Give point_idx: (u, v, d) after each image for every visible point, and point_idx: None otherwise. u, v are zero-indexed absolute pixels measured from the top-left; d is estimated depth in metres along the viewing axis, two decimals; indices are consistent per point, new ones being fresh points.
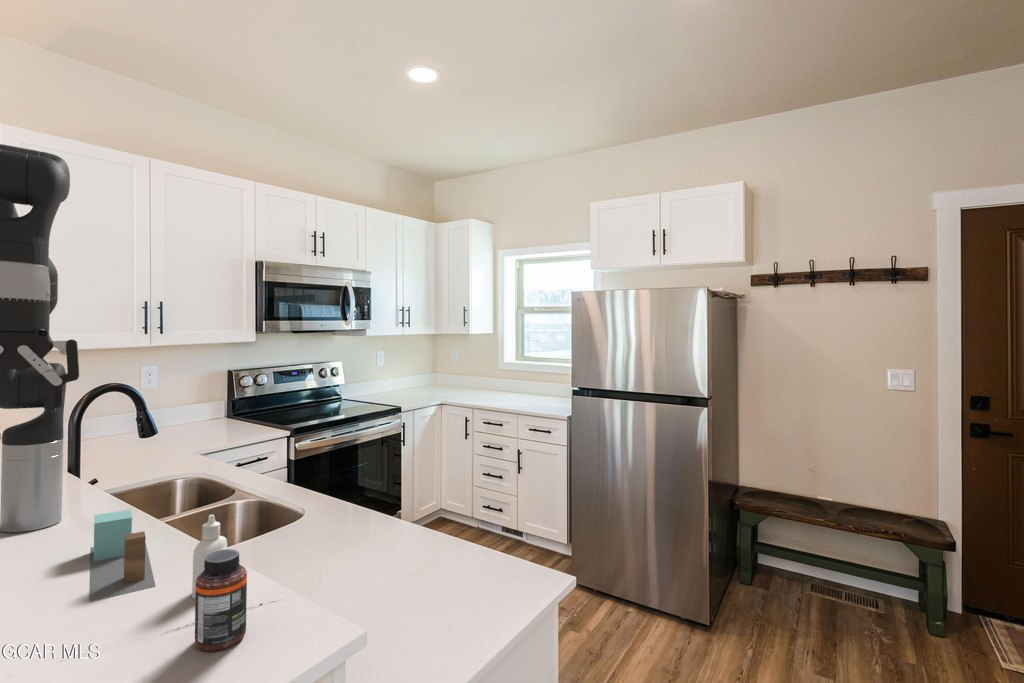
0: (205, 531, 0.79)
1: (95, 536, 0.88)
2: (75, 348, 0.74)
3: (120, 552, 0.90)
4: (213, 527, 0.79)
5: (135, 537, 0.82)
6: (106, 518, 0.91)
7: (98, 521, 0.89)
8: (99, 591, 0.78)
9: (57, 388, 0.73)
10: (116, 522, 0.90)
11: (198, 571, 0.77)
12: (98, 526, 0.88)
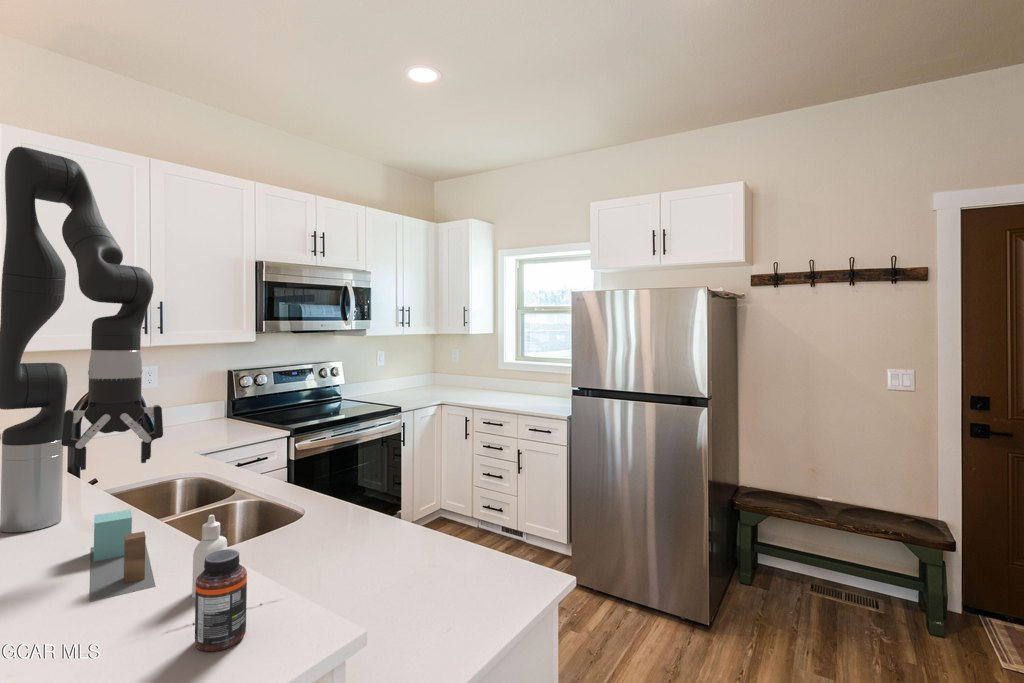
0: (205, 531, 0.79)
1: (95, 536, 0.88)
2: (160, 412, 0.95)
3: (120, 552, 0.90)
4: (213, 527, 0.79)
5: (135, 537, 0.82)
6: (106, 518, 0.91)
7: (98, 521, 0.89)
8: (99, 591, 0.78)
9: (147, 444, 0.94)
10: (116, 522, 0.90)
11: (198, 571, 0.77)
12: (98, 526, 0.88)
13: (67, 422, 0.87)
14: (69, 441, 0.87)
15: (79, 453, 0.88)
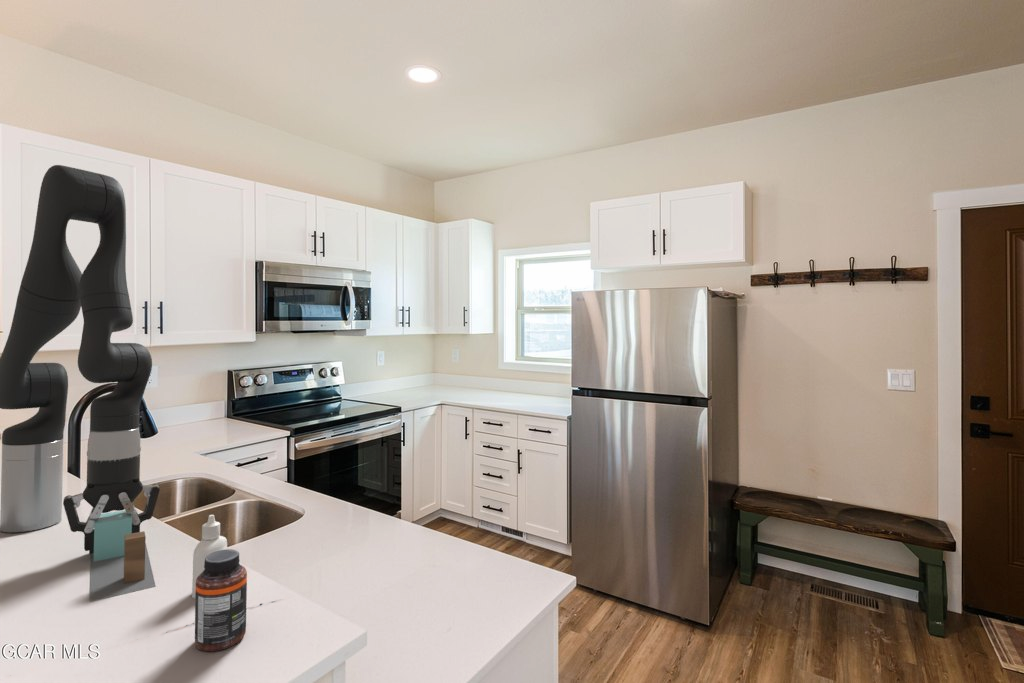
0: (205, 531, 0.79)
1: (95, 536, 0.88)
2: (157, 494, 0.95)
3: (120, 552, 0.90)
4: (213, 527, 0.79)
5: (135, 537, 0.82)
6: (106, 518, 0.91)
7: (98, 521, 0.89)
8: (99, 591, 0.78)
9: (136, 526, 0.93)
10: (116, 522, 0.90)
11: (198, 571, 0.77)
12: (98, 526, 0.88)
13: (69, 509, 0.87)
14: (78, 526, 0.88)
15: (88, 537, 0.89)
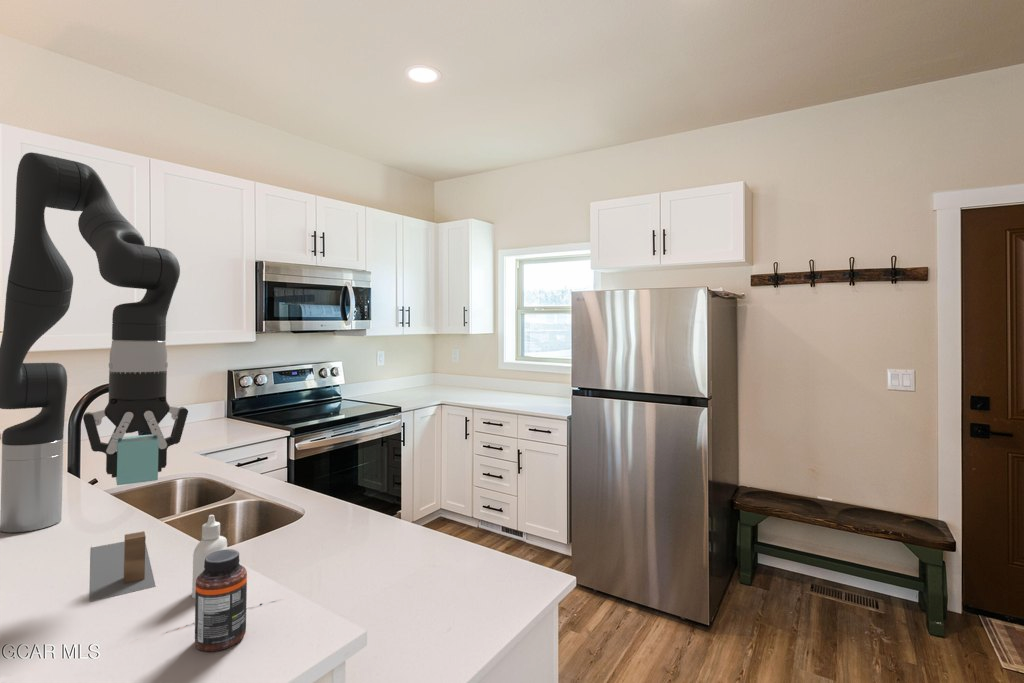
0: (205, 531, 0.79)
1: (119, 457, 0.79)
2: (185, 416, 0.86)
3: (146, 477, 0.81)
4: (213, 527, 0.79)
5: (135, 537, 0.82)
6: (130, 439, 0.81)
7: (121, 441, 0.80)
8: (99, 591, 0.78)
9: (163, 451, 0.84)
10: (141, 443, 0.81)
11: (198, 571, 0.77)
12: (122, 446, 0.79)
13: (89, 426, 0.78)
14: (100, 446, 0.79)
15: (110, 459, 0.80)
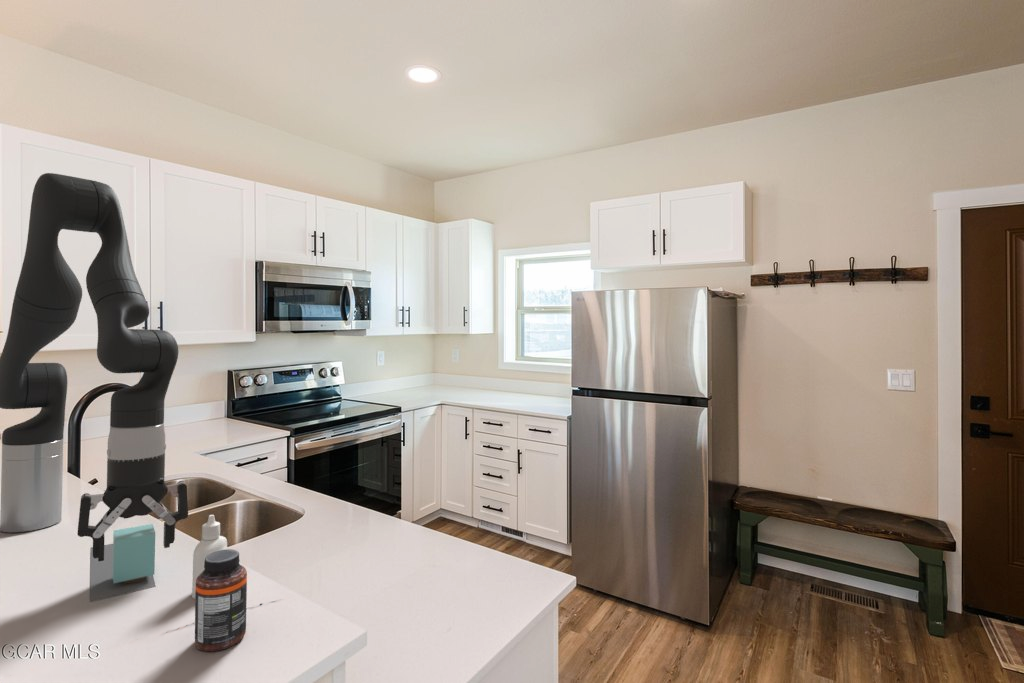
0: (205, 531, 0.79)
1: (115, 555, 0.79)
2: (185, 491, 0.86)
3: (143, 572, 0.81)
4: (213, 527, 0.79)
5: None
6: (127, 534, 0.81)
7: (118, 537, 0.80)
8: (99, 591, 0.78)
9: (171, 527, 0.85)
10: (138, 539, 0.81)
11: (198, 571, 0.77)
12: (118, 544, 0.79)
13: (84, 510, 0.77)
14: (86, 531, 0.78)
15: (97, 543, 0.79)
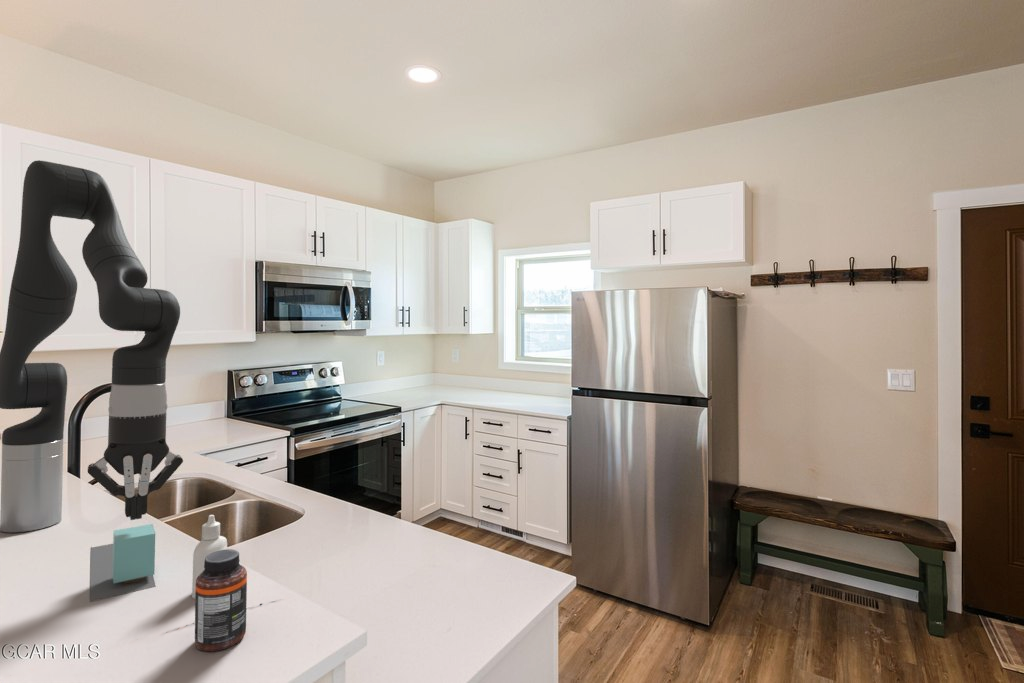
0: (205, 531, 0.79)
1: (115, 555, 0.79)
2: (177, 466, 0.85)
3: (143, 572, 0.81)
4: (213, 527, 0.79)
5: None
6: (127, 534, 0.81)
7: (118, 537, 0.80)
8: (99, 591, 0.78)
9: (143, 497, 0.82)
10: (138, 539, 0.81)
11: (198, 571, 0.77)
12: (118, 544, 0.79)
13: (98, 477, 0.79)
14: (119, 490, 0.80)
15: (129, 502, 0.81)
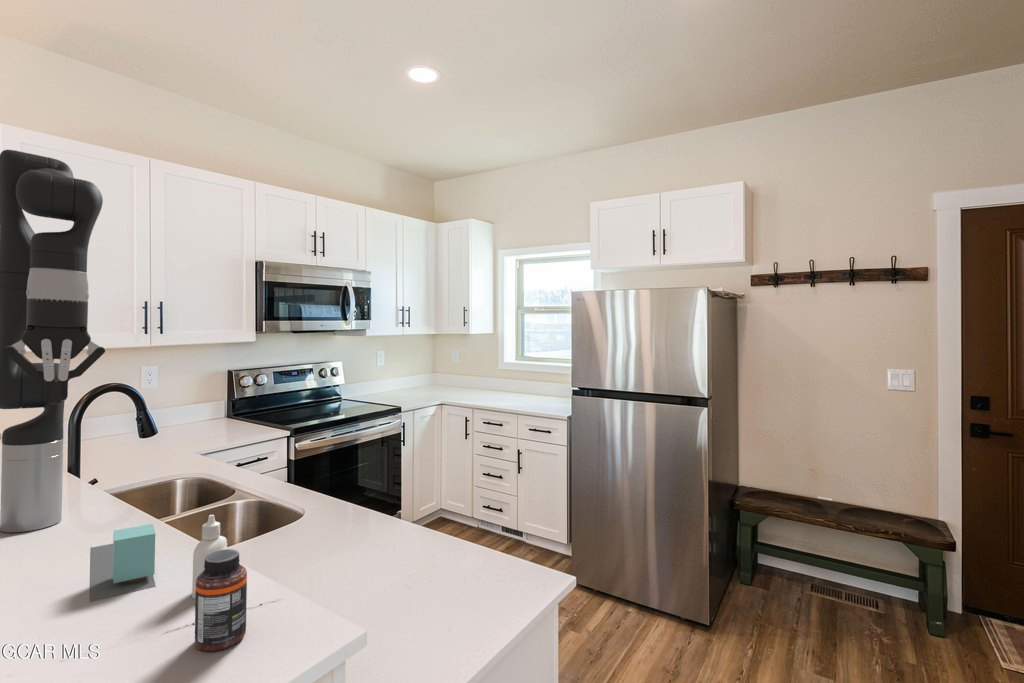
0: (205, 531, 0.79)
1: (115, 555, 0.79)
2: (99, 355, 0.87)
3: (143, 572, 0.81)
4: (213, 527, 0.79)
5: None
6: (127, 534, 0.81)
7: (118, 537, 0.80)
8: (99, 591, 0.78)
9: (63, 383, 0.84)
10: (138, 539, 0.81)
11: (198, 571, 0.77)
12: (118, 544, 0.79)
13: (15, 357, 0.80)
14: (37, 372, 0.82)
15: (48, 386, 0.83)
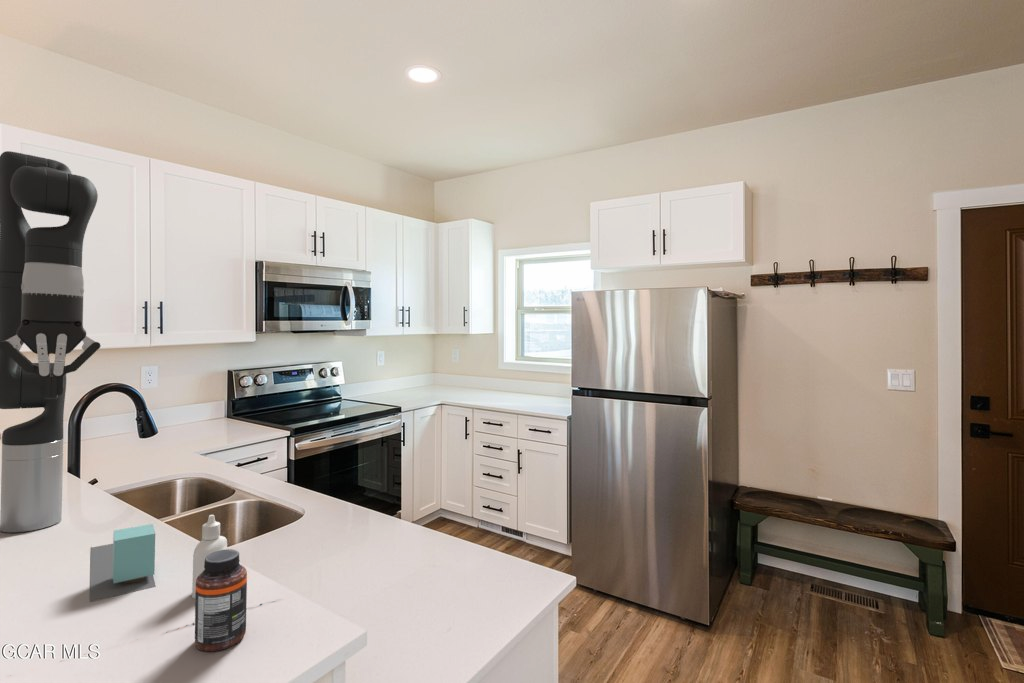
0: (205, 531, 0.79)
1: (115, 555, 0.79)
2: (95, 350, 0.86)
3: (143, 572, 0.81)
4: (214, 527, 0.79)
5: None
6: (127, 534, 0.81)
7: (118, 537, 0.80)
8: (99, 591, 0.78)
9: (58, 378, 0.84)
10: (138, 539, 0.81)
11: (198, 571, 0.77)
12: (118, 544, 0.79)
13: (10, 352, 0.80)
14: (32, 367, 0.82)
15: (44, 381, 0.83)
